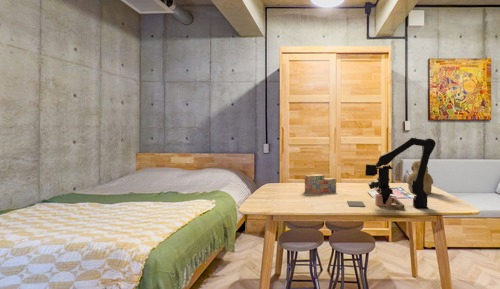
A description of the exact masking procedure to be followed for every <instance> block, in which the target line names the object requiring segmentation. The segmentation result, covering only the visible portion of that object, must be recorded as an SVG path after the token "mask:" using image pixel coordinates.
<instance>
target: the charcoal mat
mask: <svg viewBox="0 0 500 289" xmlns="http://www.w3.org/2000/svg"><path fill="white" fill-rule="evenodd" d="M346 203H347V205H348V207H356V208H365V207H366V204H365V203H364V202H363V201H361V200H359V201H357V200H347V201H346Z"/></svg>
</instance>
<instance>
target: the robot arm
mask: <svg viewBox="0 0 500 289" xmlns="http://www.w3.org/2000/svg"><path fill="white" fill-rule="evenodd" d="M414 145H415V146H419V147H421V156H420V160H419V161H420V164H419V167H418V171H417V175H416V178H415V179H414V180H413V179H412V180H411V185H410V187H411V190H412V192H413V193H412V192H411V193H412V194H414V196H413V199H412V206H413V207H414V208H415V209H429V207H428V195H429V194H427V193H426V192H425V191H424V190H423V188H424V176H425V172H426V168H427V167H428V163H429V160H430V156H431V155H432V152H433V151H434V149H435V147H436V145H437V144H436V141H435V139H432V138H430V137H429V138H428V137H427V138H424V139H422V138H417V137H416V138H415V137H410V138H408V139H407V140H406V141H404V142H403V143H401V144H400V145H399V146H397V147H395V148H394V149H392V150H391V151H387V152H385V153H384V154H381V155H379V157H378V161H377V162H376V163H375V164H365V171H364V173H365V177H366V176H367V177H376V176H377V175H378V177H377V178H376V180H373V181H369V182H367V184H368V187H369V189H370V190H373V189H375V190H376V191H377V192H378V194H381V195H382V199H383V204H386V202H387V200H388V198H389V196H390V195H392V194H393V193H394V192H393V189H392V188H391V186H390V181H391V179H390V170H393V167H392V166H391V165H390V163H391V162H392V160H394V159H395V158H396V157H397V156H399V155H400V154H402V153H403V152H405V151H406V150H408V149H409V148H411V147H412V146H414Z"/></svg>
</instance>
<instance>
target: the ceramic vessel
mask: <svg viewBox="0 0 500 289" xmlns="http://www.w3.org/2000/svg"><path fill="white" fill-rule="evenodd" d="M419 164H420V160H417V161H413V163H412V164H411V167H410V169H411V171H412V172H411V173H410V174H409V175H408V176H407V179H406V180H407V181H406V183H407V184H408V186H407V188H408V190H409V191H410V192H411V194H414V193H413V192H412V190H411V187H410V185H411V180H412V179H413V180H414V179H415V178H416V175H417V171H418V167H419ZM433 184H434V179H433V177H432V175H431V174H430V173H429V168H428V166H427V168H426V172H425V176H424V188H423V190H424V191H425V192H426V193H427V195H430V194H431V193H432V185H433Z"/></svg>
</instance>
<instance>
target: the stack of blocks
mask: <svg viewBox="0 0 500 289" xmlns="http://www.w3.org/2000/svg"><path fill="white" fill-rule="evenodd" d="M304 192H305V193H307V194H321V193H335V192H337V179H336V178H335V177H325V175H324V174H321V173H319V174H305V175H304Z"/></svg>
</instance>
